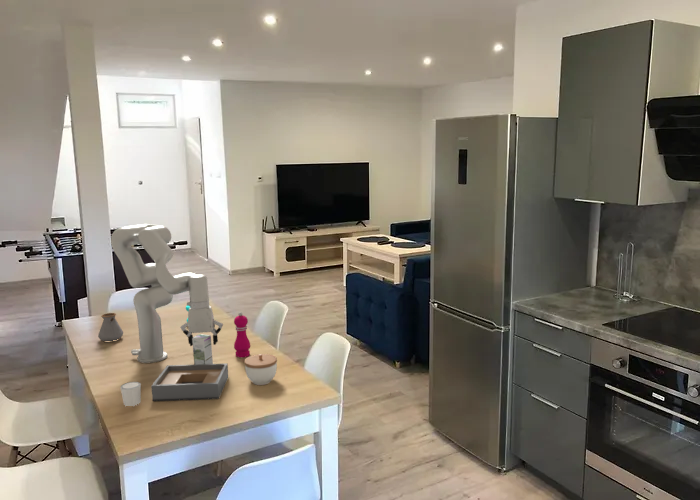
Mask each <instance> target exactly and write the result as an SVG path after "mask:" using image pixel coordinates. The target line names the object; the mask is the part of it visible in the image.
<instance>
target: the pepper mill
mask: <svg viewBox="0 0 700 500" xmlns="http://www.w3.org/2000/svg"><path fill="white" fill-rule="evenodd" d="M248 321H249V319H248V317H247V316H246V315H243V312H241V311H240V312H238V315H237V316H236V317H235V318H234V320H233V324H234V325H235V331H236V336H235V337H236V338H235V341H234V344H233V349H234V350H235V357H236V358H243V359H244V358H248V357H250V356H251V354H250V353H251V352H250V348H251V342H250V340H249V337H248V335H247V329H248V326H247V325H248V323H249V322H248Z"/></svg>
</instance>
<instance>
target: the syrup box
mask: <svg viewBox="0 0 700 500" xmlns="http://www.w3.org/2000/svg"><path fill="white" fill-rule="evenodd" d="M192 342H193V345H192V353H193V354H192V355H193V365H194V364H214V361H213V350H212V349H213V348H212V347H213V346H212V345H213V344H212V336H211V334H202V333H198V334H197V335H195V336H193V338H192Z"/></svg>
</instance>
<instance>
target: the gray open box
mask: <svg viewBox="0 0 700 500" xmlns="http://www.w3.org/2000/svg"><path fill="white" fill-rule="evenodd" d="M228 366H229V365H228V363H213V364H194V363H193V364H174V365H173V364H172V365H171V364H170V365H166V366H165V368H164V369H163V370H162V372H161V373H160V374H159V375H158V377H157V378H156V379H155V380H154V381H153V383H152V384H151V385H150V386H151V397H152V400H151V401H152V402H171V401H172V402H175V401H177V402H178V401H199V400H201V401H203V400H205V401H206V400H219V399H220V397H221V395H222V393H223V390H224V388H225V386H226V384H227V382H228V379H229V367H228Z"/></svg>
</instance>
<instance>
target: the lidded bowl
mask: <svg viewBox="0 0 700 500" xmlns="http://www.w3.org/2000/svg"><path fill="white" fill-rule="evenodd" d="M277 363H278V358H277V357H276V356H275V355H273V354H268V353H259V354H254V355H249V356H248V357H245V359H244V370H245V374H246V376H247V378H248V379H249V381H250V382H252V384H253V385H257V386H264V385H267V384H269V383H271V382H272V380H273V379H274V378H275V376H276V373H277V368H278V366H277V365H278V364H277Z"/></svg>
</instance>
